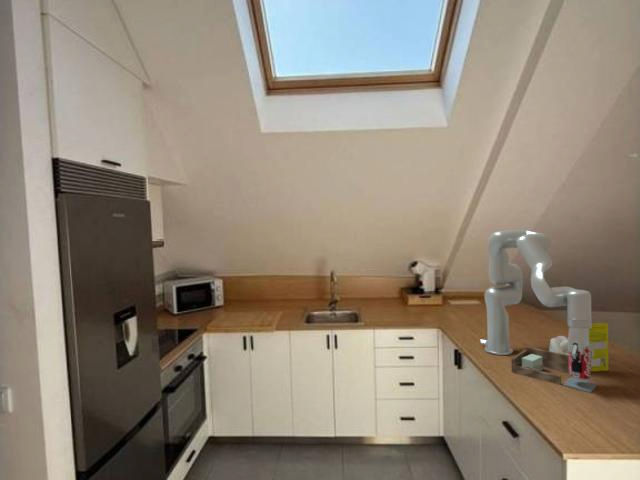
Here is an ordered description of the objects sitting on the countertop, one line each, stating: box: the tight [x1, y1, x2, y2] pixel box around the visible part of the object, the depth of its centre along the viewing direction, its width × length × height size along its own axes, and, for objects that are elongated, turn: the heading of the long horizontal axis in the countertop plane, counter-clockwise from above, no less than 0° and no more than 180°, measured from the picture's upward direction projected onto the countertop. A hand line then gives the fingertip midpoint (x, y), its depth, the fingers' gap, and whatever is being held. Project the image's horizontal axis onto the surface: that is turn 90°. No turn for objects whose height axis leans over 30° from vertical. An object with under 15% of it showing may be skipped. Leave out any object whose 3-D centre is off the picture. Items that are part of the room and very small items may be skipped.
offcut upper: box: [522, 354, 542, 368], centre depth 161 cm, size 4×8×3 cm, turn 124°
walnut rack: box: [511, 346, 569, 385], centre depth 159 cm, size 18×16×7 cm
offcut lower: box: [521, 363, 544, 371], centre depth 161 cm, size 5×9×3 cm, turn 129°
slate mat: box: [562, 376, 598, 394], centre depth 145 cm, size 9×9×1 cm
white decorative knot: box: [548, 335, 569, 355], centre depth 174 cm, size 11×12×9 cm
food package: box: [589, 322, 609, 372], centre depth 157 cm, size 15×1×20 cm, turn 92°
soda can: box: [568, 347, 592, 381], centre depth 145 cm, size 7×7×12 cm
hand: (579, 368), depth 145 cm, fingers closed on soda can, 6 cm apart
